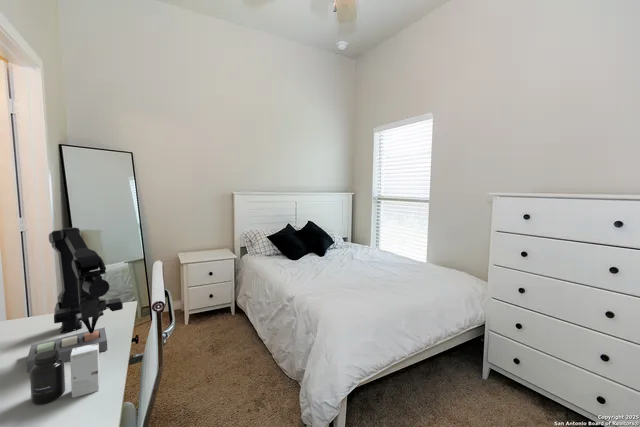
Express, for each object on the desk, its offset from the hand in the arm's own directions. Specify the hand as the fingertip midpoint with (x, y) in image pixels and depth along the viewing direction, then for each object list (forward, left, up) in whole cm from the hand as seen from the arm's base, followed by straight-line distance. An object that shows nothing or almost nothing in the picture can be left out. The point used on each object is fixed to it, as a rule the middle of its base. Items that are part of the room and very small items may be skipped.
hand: (91, 333), depth 104 cm
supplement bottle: (+24, -10, -5) cm, 27 cm away
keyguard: (0, -6, -5) cm, 8 cm away
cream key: (0, -6, -3) cm, 7 cm away
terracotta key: (0, 0, -3) cm, 3 cm away
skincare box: (+27, -2, -5) cm, 28 cm away
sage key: (0, -12, -3) cm, 12 cm away
